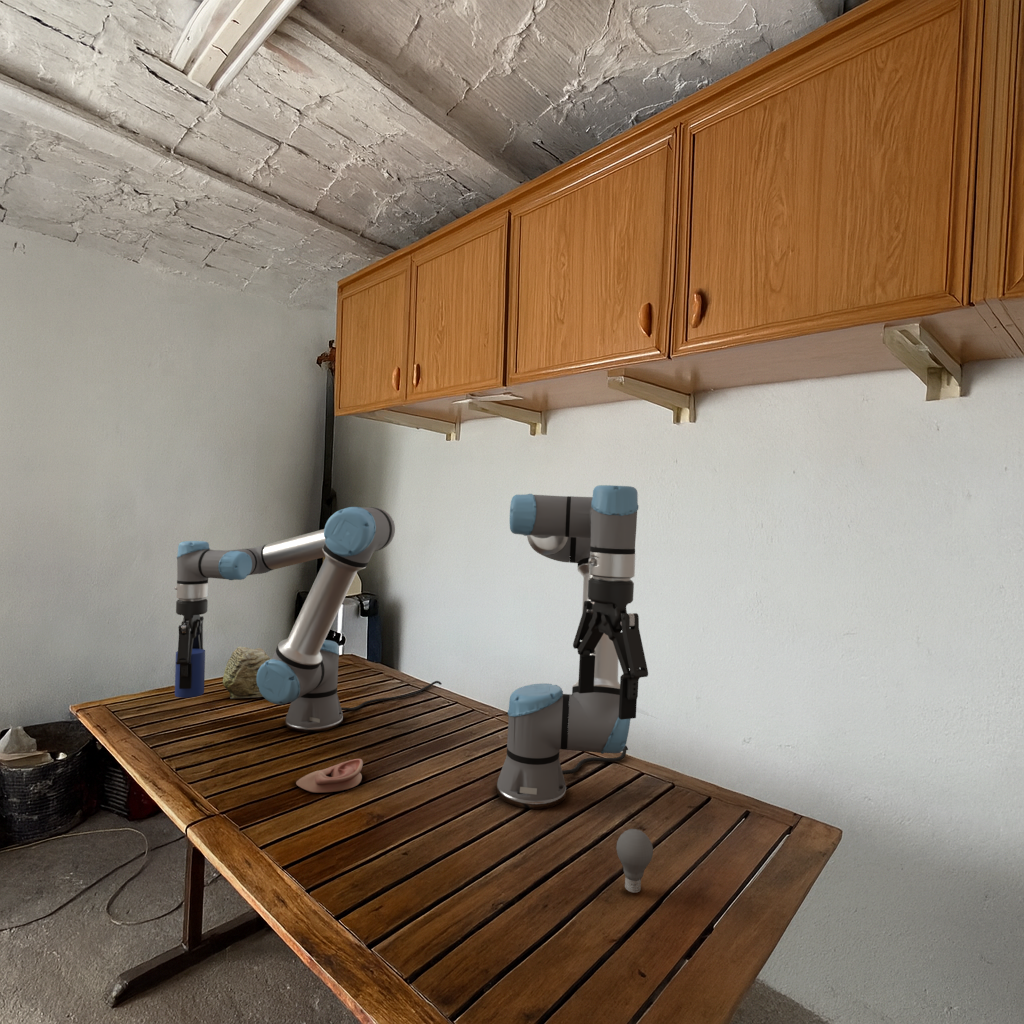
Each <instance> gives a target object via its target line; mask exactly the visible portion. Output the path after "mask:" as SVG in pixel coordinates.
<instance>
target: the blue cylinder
mask: <svg viewBox="0 0 1024 1024" xmlns="http://www.w3.org/2000/svg"><path fill="white" fill-rule="evenodd" d="M177 656H178V650H177V651H176V652H175V666H174V667H175V669H174V697H176V698H179V699H180V698H181V699H188V698H194V697H195V698H196V697H199V696H202V695H204V694H205V679H206V678H205V676H206V675H205V673H206V650H205V649H204V648H203V649H192V655H191V663H192V681H191V689H179V682H180V664H176V662H177Z"/></svg>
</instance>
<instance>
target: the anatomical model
mask: <svg viewBox="0 0 1024 1024" xmlns="http://www.w3.org/2000/svg"><path fill="white" fill-rule="evenodd" d="M363 765H364V761H363V759H361V758H354V759H350V760H346V761H343V762H340V763H337V764H334V765H332V766H329V767H327V768H324V769H320V770H319V769H318V770H316V771H315V770H314V771H313V772H310V773H308V774H306V775H304V776H302V777H300V778H299V779H297V780H296V782H295V784H296V786H298V787H299V788H301V789H303V790H305V791H307V792H309V793H314V794H316V793H317V794H319V793H321V794H322V793H333V792H341V791H344V790H345V791H346V790H349V789H352V788H355V787H356V786H358V785H359V784H360V783H361V782H362V779H363V775H362V773H361V771H362V769H363Z"/></svg>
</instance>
